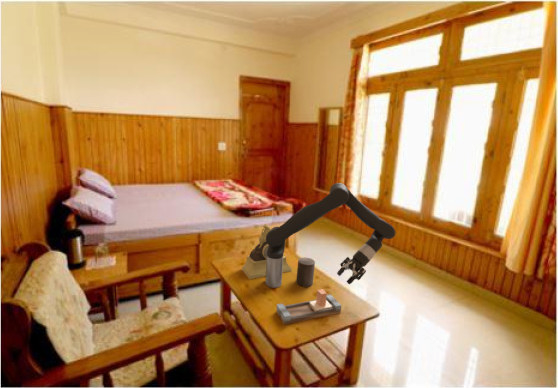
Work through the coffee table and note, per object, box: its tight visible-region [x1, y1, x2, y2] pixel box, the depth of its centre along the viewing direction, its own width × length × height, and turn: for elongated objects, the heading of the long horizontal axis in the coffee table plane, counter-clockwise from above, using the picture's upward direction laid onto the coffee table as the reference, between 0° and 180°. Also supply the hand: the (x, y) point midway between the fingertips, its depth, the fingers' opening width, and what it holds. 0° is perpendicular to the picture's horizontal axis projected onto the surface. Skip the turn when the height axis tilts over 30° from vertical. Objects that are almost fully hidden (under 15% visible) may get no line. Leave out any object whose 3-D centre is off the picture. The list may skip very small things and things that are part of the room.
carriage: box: [309, 288, 332, 311], centre depth 144 cm, size 7×9×8 cm
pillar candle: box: [295, 256, 316, 288], centre depth 169 cm, size 10×10×15 cm
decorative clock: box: [241, 223, 293, 280], centre depth 180 cm, size 28×13×30 cm, turn 117°
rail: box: [276, 293, 342, 325], centre depth 143 cm, size 10×30×4 cm, turn 112°
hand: (342, 278), depth 147 cm, fingers open, 8 cm apart
